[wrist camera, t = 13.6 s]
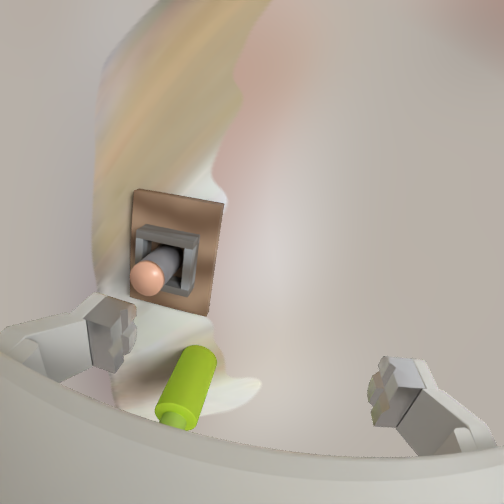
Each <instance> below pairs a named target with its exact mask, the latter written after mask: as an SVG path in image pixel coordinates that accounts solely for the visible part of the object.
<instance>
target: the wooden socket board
mask: <svg viewBox="0 0 504 504" xmlns="http://www.w3.org/2000/svg"><path fill="white" fill-rule="evenodd" d="M223 208H224V204H223V203H218V202H213V201H207V200H202V199H196V198H191V197H185V196H180V195H174V194H168V193H162V192H156V191H150V190H144V189H137V190H134V198H133V212H132V229H131V254H130V272H131V269H132V268H133V267H134V266H135V265H136V264H137V263H139V262H140V261H141V260H142V259H143V258H145V257H146V256H147V255H148V254H150V253H151V252H152V251H153V250H155V249H156V248H157V247H158V246H159V245H161V244H162V243H163V244H167V245H172V246H177V247H180V248H181V250H182V252H183V254H184V260H183V264H182V265H181V267H180V268H179V269H178V270H177V271H176V272H175V274H174V275H173V276H172V277H171V278H170V279H169V280H168V282H167V283H166V284H165V285H164V286H163V287H162V289H161V290H160V291H159V292H158V293H157V294H155V295H153V296H145V295H142V294H140V293H139V292H137V291H136V290H135V289H134V287H133V286H132V284H131V281H130V297H133V298H136V299H140V300H144V301H147V302H151V303H155V304H158V305H162V306H166V307H170V308H174V309H177V310H181V311H185V312H189V313H193V314H198V315H202V316H207V314H208V312H209V306H210V298H211V290H212V283H213V276H214V269H215V261H216V255H217V248H218V241H219V234H220V228H221V221H222V215H223Z"/></svg>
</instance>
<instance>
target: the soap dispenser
mask: <svg viewBox="0 0 504 504" xmlns="http://www.w3.org/2000/svg"><path fill="white" fill-rule="evenodd" d="M216 365H217V360H216V357H215V355H214V354H213V353H212V352H211V351H210V350H209V349H207V348H205V347H202V346H198V345H193V346H189V347H187V348H185V349H184V351H183V352H182V354H181V356H180V358H179V360H178V362H177V364H176V366H175V368H174V370H173V373H172V375H171V377H170V379H169V381H168V383H167V385H166V387H165V389H164V391H163V393H162V395H161V397H160V399H159V401H158V403H157V405H156V407H155V414H156V416H157V418H158V419H159V420H160V421H159V423H162V424H165V425H169V426H172V427H175V428H179V429H182V430H186V431H188V430H192V429H193V428H194V427H196V425H197V422H198V419H199V416H200V413H201V410H202V407H203V404H204V401H205V398H206V395H207V392H208V389H209V386H210V383H211V380H212V377H213V374H214V371H215V368H216Z"/></svg>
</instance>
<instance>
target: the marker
mask: <svg viewBox="0 0 504 504" xmlns="http://www.w3.org/2000/svg"><path fill="white" fill-rule="evenodd" d="M183 260H184V254H183V252H182V250H181V248H180V247H177V246H172V245H167V244H163V243H162V244H161V245H159V246H158V247H157V248H156V249H155V250H153V251H152V252H151V253H150V254H148V255H147V256H146V257H145V258H143V259H142V260H141V261H140V262H139V263H137V264H136V265H135V266H134V267H133V268H132V269H131V272H130V281H131V284H132V286H133V287H134V289H135V290H136V291H137V292H139V293H140V294H142V295H145V296H153V295H155V294H157V293H158V292H159V291H160V290H161V289H162V287H163V286H164V285H165V284H166V283H167V282H168V280H169V279H170V278H171V277H172V276H173V275H174V274H175V272H176V271H177V270H178V269H179V268H180V267H181V265H182V264H183Z"/></svg>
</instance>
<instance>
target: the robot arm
mask: <svg viewBox="0 0 504 504" xmlns="http://www.w3.org/2000/svg"><path fill="white" fill-rule="evenodd" d="M136 316H137V314H136V306H135V305H134V304H132V303H129V302H126V301H122V300H119V299H116V298H113V297H110V296H107V295H104V294H100V293H97V292H96V293H92V294H91V295H90V296H89V297H88V298H87V299H85V300H84V301H83V302H82V303H81V304H80V305H79V306H77V308H75V309H74V310H73V311H72V312H71V313H70V314H68V313H62V314H58V315H54V316H49V317H45V318H41V319H37V320H33V321H29V322H25V323H20V324H17V325H12V326H8V327H6V328H5V329H4V330H3V331H1V332H0V504H504V446H500V447H498V446H497V444H496V442H495V440H494V438H493V436H492V434H491V431H490V429H489V428H488V425H487V424H486V423H484V422H483V421H482V420H481V419H479V418H478V417H477V416H475V415H474V414H473V413H472V412H470V411H469V410H468V409H467V408H465V407H464V406H463V405H461V404H460V403H459V402H457V401H456V400H455V399H454V398H452V397H451V396H450V395H449V394H447V393H446V392H445V391H443V390H439V389H438V386H437V384H436V382H435V380H434V378H433V376H432V374H431V372H430V370H429V368H428V366H427V364H426V362H425V361H424V360H423V359H412V358H410V359H409V358H397V357H389V356H383V358H382V359H381V360H380V362H379V364H378V368H379V372H377V373H376V374H374V375H373V376H372V378H371V380H370V382H369V386H368V390H367V391H368V392H367V393H368V394H367V397H368V402H369V403H370V404H371V405H372V406H373V409H372V410H371V416H372V420H373V425H374V426H377V427H392V428H396V430H397V431H398V432H399V433H400V434H401V436H402V437H403V438H404V439H405V440H406V442H407V443H408V444H409V445H410V447H411V448H412V449H413V450H414V451H415V453H416V454H417V455H418V456H416V457H380V458H379V457H377V458H376V457H347V456H331V455H318V454H309V453H299V452H292V451H284V450H276V449H270V448H264V447H258V446H252V445H247V444H242V443H237V442H232V441H227V440H222V439H218V438H213V437H209V436H205V435H201V434H197V433H193V432H190V431H186V430H182V429H179V428H175V427H172V426H169V425H165V424H162V423H159V422H156V421H152V420H149V419H146V418H143V417H140V416H138V415H135V414H132V413H129V412H126V411H124V410H121V409H118V408H116V407H113V406H110V405H108V404H105V403H103V402H100V401H98V400H95V399H92V398H91V397H88V396H86V395H84V394H81V393H79V392H77V391H75V390H72V389H70V388H68V387H66V386H64V385H62V384H60V382H62V381H64V380H67V379H68V378H71V377H72V376H75V375H77V374H79V373H81V372H83V371H85V370H87V369H89V368H91V367H92V366H95V367H98V368H100V369H103V370H106V371H109V372H112V373H116V372H117V370H118V369H119V367H120V366H121V364H122V363H123V362H124V357H123V355H126V354H128V353H130V352H131V350H132V349H133V347H134V344H135V341H136V336H137V327H136V325H135V323H134V322H133V320H134V319H135V317H136Z"/></svg>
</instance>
